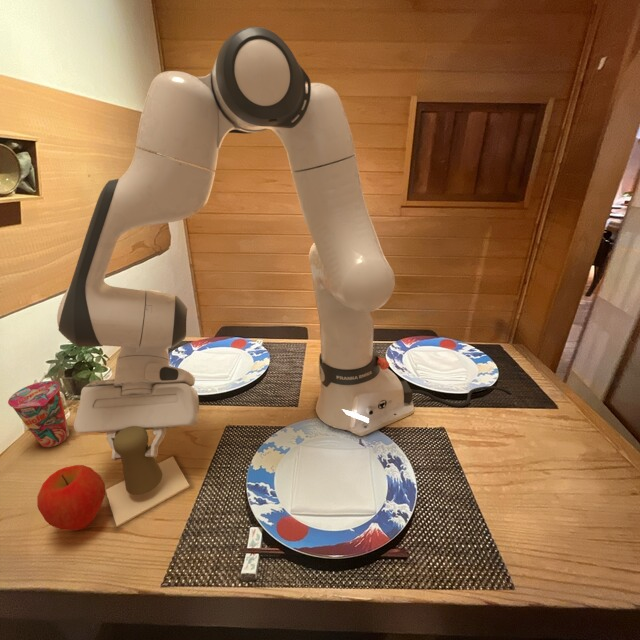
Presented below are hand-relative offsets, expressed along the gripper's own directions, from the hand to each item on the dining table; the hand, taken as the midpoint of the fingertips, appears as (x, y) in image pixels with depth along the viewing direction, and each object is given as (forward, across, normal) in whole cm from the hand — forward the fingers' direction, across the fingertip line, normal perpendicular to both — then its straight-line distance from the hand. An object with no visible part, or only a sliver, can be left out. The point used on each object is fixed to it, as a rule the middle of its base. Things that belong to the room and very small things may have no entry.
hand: (135, 458), depth 60 cm
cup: (-5, -24, +17) cm, 30 cm away
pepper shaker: (+4, 0, +5) cm, 6 cm away
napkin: (+5, 0, +6) cm, 8 cm away
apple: (+9, -8, +2) cm, 13 cm away
